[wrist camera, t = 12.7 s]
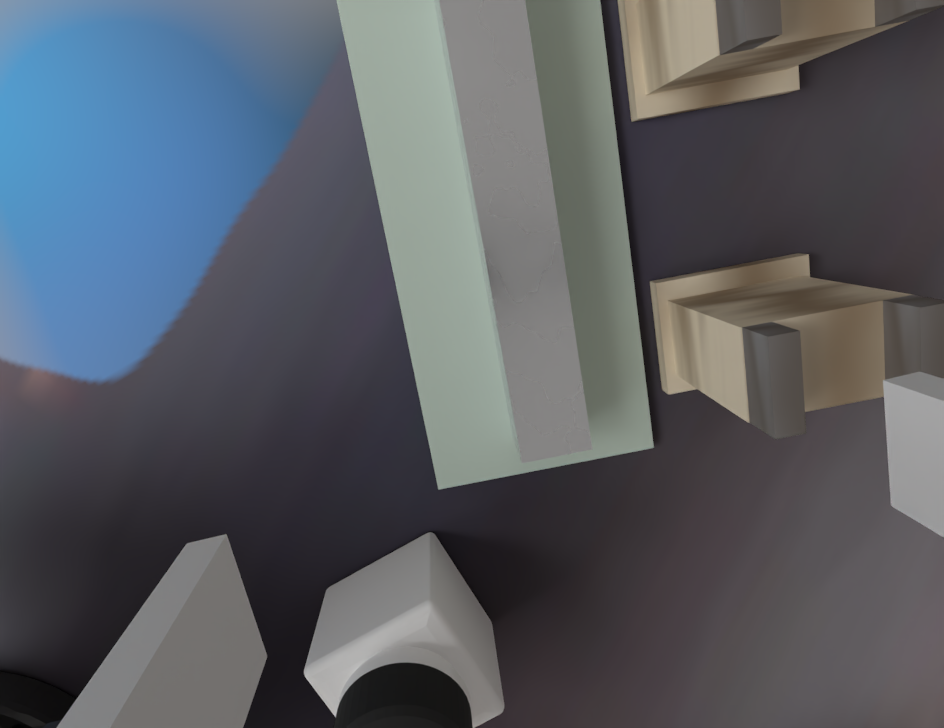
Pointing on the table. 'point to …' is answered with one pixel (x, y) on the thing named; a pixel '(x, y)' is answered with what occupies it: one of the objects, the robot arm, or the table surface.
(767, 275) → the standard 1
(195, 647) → the robot arm
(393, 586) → the medicine bottle
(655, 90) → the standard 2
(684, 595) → the table surface
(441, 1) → the rail
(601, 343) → the mat
